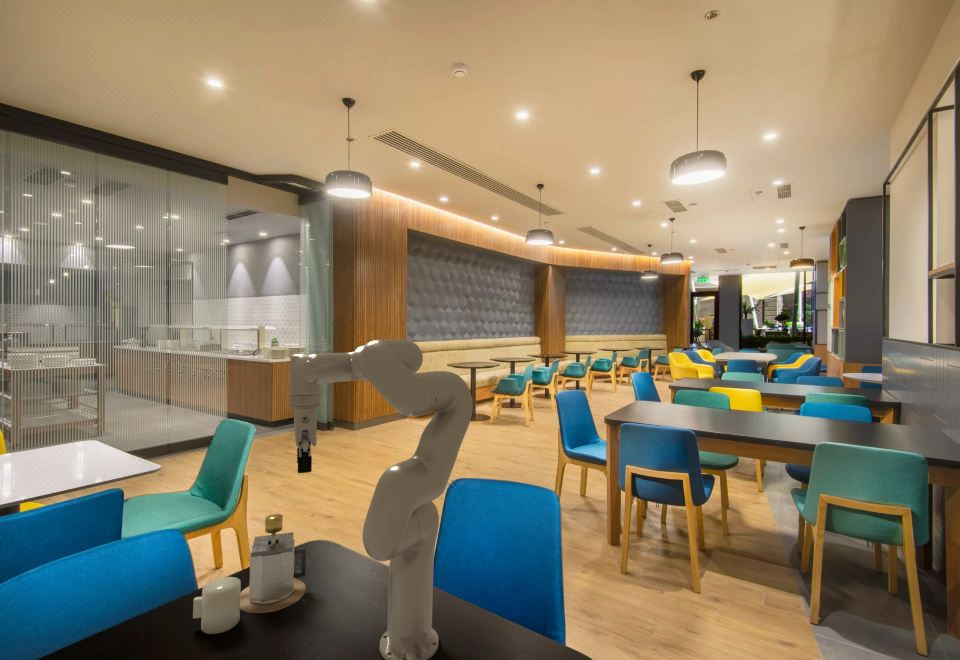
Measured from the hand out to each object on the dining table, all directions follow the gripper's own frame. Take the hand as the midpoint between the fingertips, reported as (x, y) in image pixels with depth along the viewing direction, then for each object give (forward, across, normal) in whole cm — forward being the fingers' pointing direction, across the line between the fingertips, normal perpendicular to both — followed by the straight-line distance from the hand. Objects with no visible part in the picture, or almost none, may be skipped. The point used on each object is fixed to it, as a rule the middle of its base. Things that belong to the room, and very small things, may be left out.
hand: (304, 467), depth 119 cm
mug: (+32, -8, +17) cm, 37 cm away
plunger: (+29, +1, +7) cm, 30 cm away
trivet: (+32, +1, +7) cm, 33 cm away
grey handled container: (+31, +1, +6) cm, 32 cm away
